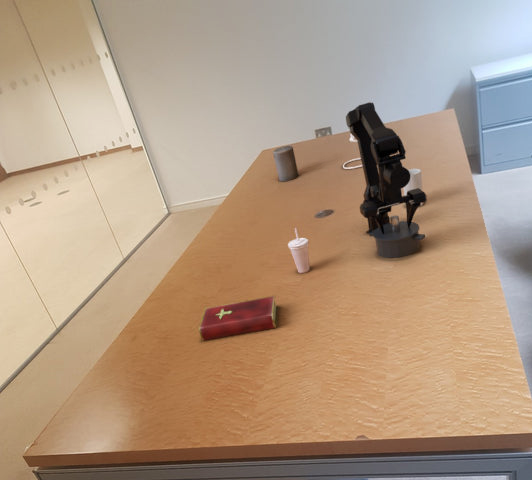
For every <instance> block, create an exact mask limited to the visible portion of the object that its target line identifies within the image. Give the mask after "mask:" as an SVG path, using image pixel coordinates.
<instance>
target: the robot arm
mask: <svg viewBox="0 0 532 480" xmlns="http://www.w3.org/2000/svg"><path fill="white" fill-rule="evenodd" d="M345 123H346V126H347V128H348V129H349V132H350V135H351V134H352V135H353V136H354V137H355V140H357V142H356V143H357V145H358V151H359V155H360V158H361V159H360V160H361V165H362V170H363V175H364V180H365V184H366V186H365V189H364V193H363V201H362V203H360V205H359V212H360V214H361V216H362V217H364V218H365V219H367V225H368V230H366V234H369V233H371V232H372V231H373V230H376V229H377V228H378V227H379V228H380V230H381V232H382V234H384V227H383V225H385V224H388V223H390V216H389V213H391V212H392V207H394V206H397V205H402V204H406V205H405V208H406V212H405V213H406V221H407V226H408V227H410V225H411V222H413V220H414V219H413V218H414V216H415V214H416V212H417V210H418V208H419V207H421V206H422V205H421V204H420V203H423V204H424V203H427V201H428V200H427V199H428V198H427V193H426V192H425V191H424V190H423V189H422V190H423V191H422V190H420V189H419V188H417V189H413V190H409V191H407V195H406V196H404V195H403V193H402V189H403V187H405V186H406V185H407V184H408V183H409V181H410V173H409V171H408V170H409V169H408V168H406V167H405V166H404V165H403V163H402V160H406V154H407V153H406V149H405V145H404V144H403V141H402V139H401V137H400V136H399V135H397V133H396V132H395V130H394V129H392V128H389V127H386V126H385V124H384V122H383V120H382V119H381V117H380V115H379V114H378V112H377V111H376V107H375V103H374V102H371V101H369V102H366V103H362V104H359V105H358V106H356V107H355V108H354V109H353V110H349V111H348V112H347V114H346V115H345ZM420 205H421V206H420ZM418 206H419V207H418Z"/></svg>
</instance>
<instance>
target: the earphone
mask: <svg viewBox="0 0 532 480" xmlns="http://www.w3.org/2000/svg"><path fill="white" fill-rule="evenodd" d="M349 142H350V143H358V142H357V139H356V138H355V137H354V136H353V135H352V134H351V133H350V138H349ZM359 160H361V157H357V158H353V159H350V160H347V161H346V162H344V163H343V164H342V168H343V169H344V170H353V169H357V168H363V166H362V164H360V165H355V166H351V167H349V166H348V167H346V165H347V164H349V163H351V162H354V161H359Z"/></svg>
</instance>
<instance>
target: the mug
mask: <svg viewBox="0 0 532 480" xmlns="http://www.w3.org/2000/svg"><path fill="white" fill-rule="evenodd" d="M407 170H408V171H409V173H410V181H409V183H408V184H407V185H406V186H405V187H403V188H402V190H403V196H406V195H407V191H409V190H413V189H417V188H419V189H420V190H422V191H423V192H424V189H423V180H422V179H423V176H422V170H421V169H420V168H410V169H407ZM404 204H405V203H404ZM420 204H421V205H420V206H418V208H419V207H421V206H423V205H424V202H423V203H420ZM404 206H406V204H405V205H404Z"/></svg>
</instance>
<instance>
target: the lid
mask: <svg viewBox="0 0 532 480" xmlns="http://www.w3.org/2000/svg"><path fill="white" fill-rule="evenodd" d="M389 219H390V223H388V224H385V225H383V227H384V234H382V232H381V230H380V228H379V227H378V228H377V229H376V230H375V231H374V232H373V237H372V238H374V240H375V239H377V240H380V241H398V240H402V239H406V238H409V237H411V236H413V235H415V234H416V233H417V232H418V233H419V231H420V224H419V223H417V222H414V221H412V222H411V225H410V227H408V226H407V220H400V216H399V215H395V214H394V215H392V216H389Z"/></svg>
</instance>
